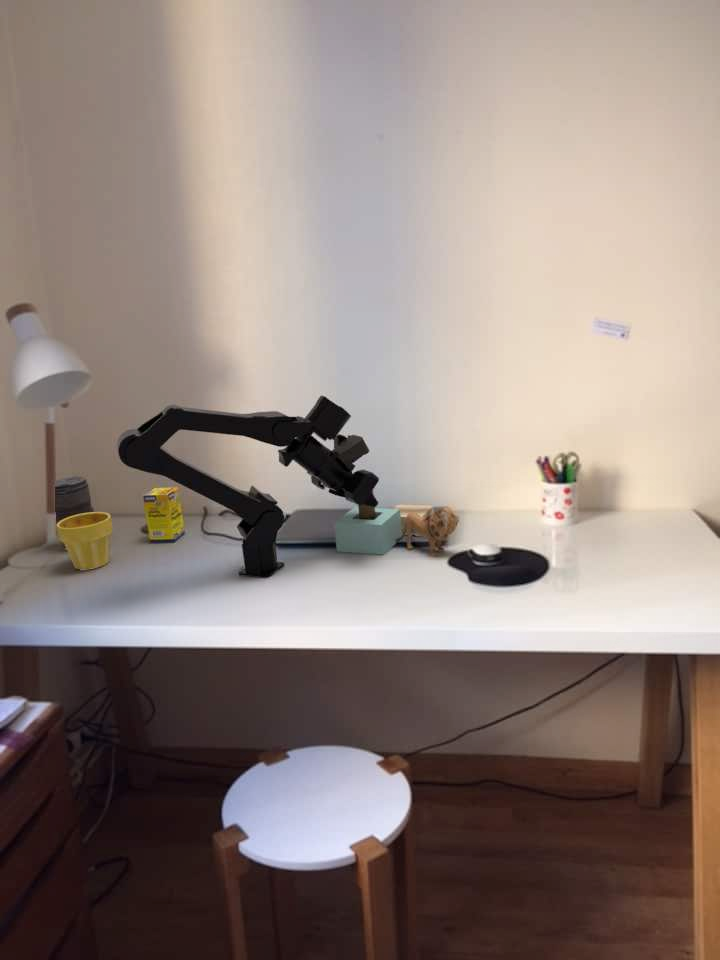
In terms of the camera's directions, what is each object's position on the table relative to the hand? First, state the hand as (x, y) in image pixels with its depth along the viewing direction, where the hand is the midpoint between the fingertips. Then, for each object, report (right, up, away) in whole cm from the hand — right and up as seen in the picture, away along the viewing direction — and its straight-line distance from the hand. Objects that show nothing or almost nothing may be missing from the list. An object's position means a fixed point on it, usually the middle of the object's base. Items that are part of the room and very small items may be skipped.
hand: (372, 503), depth 147 cm
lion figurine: (+11, -9, -4) cm, 15 cm away
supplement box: (-45, -9, +17) cm, 49 cm away
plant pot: (-57, -13, +5) cm, 59 cm away
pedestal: (+8, -6, +8) cm, 13 cm away
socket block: (0, -8, +2) cm, 8 cm away
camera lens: (-64, -10, +18) cm, 68 cm away
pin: (-1, -4, 0) cm, 4 cm away
